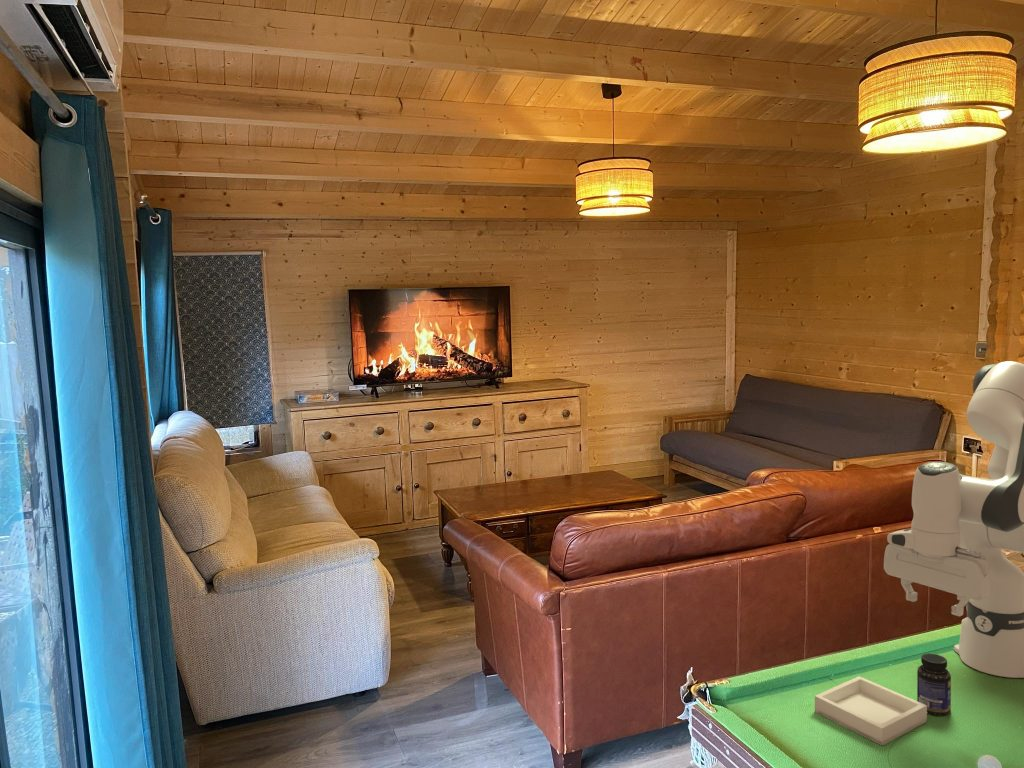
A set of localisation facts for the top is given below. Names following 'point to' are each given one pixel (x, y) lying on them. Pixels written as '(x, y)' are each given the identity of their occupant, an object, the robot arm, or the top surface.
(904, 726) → the tray
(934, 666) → the pill bottle
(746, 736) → the top surface
